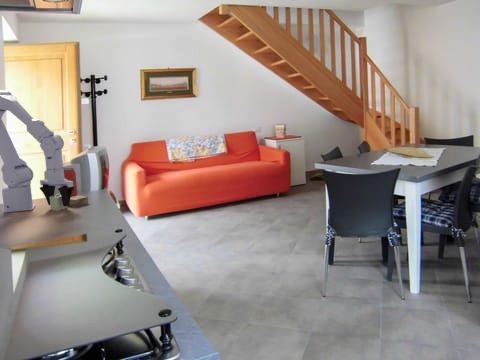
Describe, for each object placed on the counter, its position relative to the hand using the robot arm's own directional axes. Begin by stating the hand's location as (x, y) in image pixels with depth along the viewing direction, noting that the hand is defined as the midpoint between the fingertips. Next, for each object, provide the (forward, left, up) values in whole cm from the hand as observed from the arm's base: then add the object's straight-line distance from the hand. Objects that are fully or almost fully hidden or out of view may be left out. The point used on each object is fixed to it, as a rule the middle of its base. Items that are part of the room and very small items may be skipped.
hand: (58, 205), depth 156 cm
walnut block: (+6, +5, -2) cm, 8 cm away
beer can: (+3, +23, -2) cm, 23 cm away
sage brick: (0, 0, -2) cm, 2 cm away
